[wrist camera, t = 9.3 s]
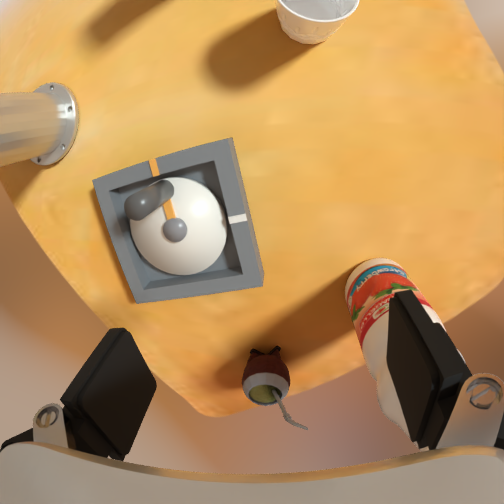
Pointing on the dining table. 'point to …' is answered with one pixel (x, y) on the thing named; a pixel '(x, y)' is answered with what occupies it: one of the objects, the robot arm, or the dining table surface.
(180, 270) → the dial
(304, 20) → the white cup
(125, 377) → the robot arm
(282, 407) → the mate gourd
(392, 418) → the fruit juice
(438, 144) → the dining table surface
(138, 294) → the housing
